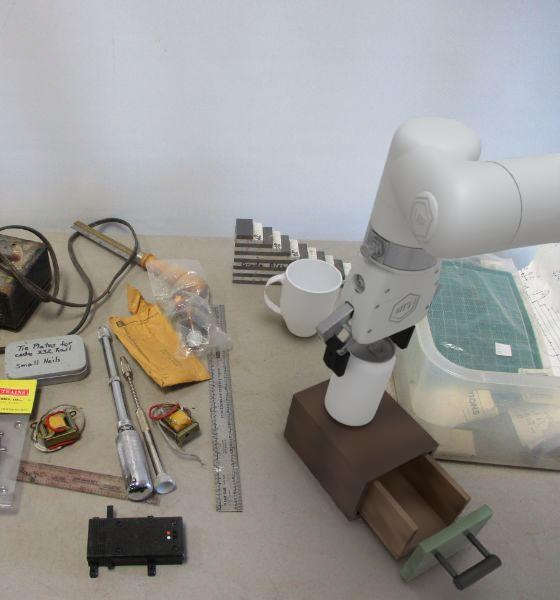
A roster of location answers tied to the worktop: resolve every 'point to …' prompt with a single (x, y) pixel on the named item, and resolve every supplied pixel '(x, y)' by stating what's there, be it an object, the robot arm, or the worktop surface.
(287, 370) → the worktop surface
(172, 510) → the worktop surface
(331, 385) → the can
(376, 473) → the cabinet
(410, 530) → the drawer
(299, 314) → the mug
